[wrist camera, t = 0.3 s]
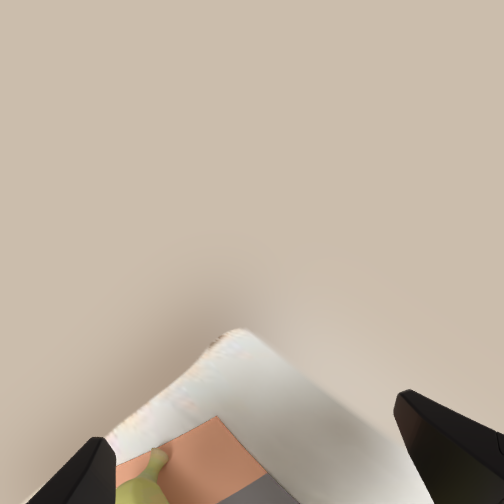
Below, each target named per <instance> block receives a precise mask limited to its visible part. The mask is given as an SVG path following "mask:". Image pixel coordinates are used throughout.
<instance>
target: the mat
mask: <svg viewBox="0 0 504 504" xmlns="http://www.w3.org/2000/svg"><path fill="white" fill-rule="evenodd" d="M216 504H300V503H298V502H297V501H296V500H295V499H294V498H293V497H292V496H291V495H290V494H289V493H288V492H287V491H286V490H285V489H284V488H283V487H282V486H281V485H279V484H278V483H277V482H276V481H275V480H274V479H273V478H272V477H271V476H270V475H269V474H268V473H266V474H265V475H263V476H262V477H260V478H259V479H257V480H255V481H254V482H252V483H251V484H249V485H247V486H246V487H244V488H243V489H241V490H239V491H238V492H236V493H234V494H232V495H231V496H229V497H227V498H225V499H224V500H222V501H220V502H218V503H216Z"/></svg>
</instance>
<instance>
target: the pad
mask: <svg viewBox="0 0 504 504" xmlns="http://www.w3.org/2000/svg"><path fill="white" fill-rule="evenodd" d="M158 449H161V450H162V451H164V452H165V453H166V454H167V455H168V457H169V461H168V462H167V463H166V464H165V465H164V466H163V467H162V469H161V470H160V472H159V474H158V479H157V484H158V485H159V487H160V489H161V490H162V492H163V494H164V495H165V497H166V499H167V500H168V502H169V504H216V503H218V502H220V501H222V500H224V499H225V498H227V497H229V496H231V495H232V494H234V493H236V492H238V491H239V490H241V489H243V488H244V487H246V486H247V485H249V484H251V483H252V482H254V481H255V480H257V479H259V478H260V477H262V476H263V475H265V474H266V473H267V472H266V471H265V469H264V468H263V467H262V466H261V465H260V464H259V463H258V462H257V461H256V460H255V459H254V458H253V457H252V456H251V455H250V454H249V453H248V451H247V450H246V449H245V448H244V447H243V446H242V445H241V444H240V443H239V442H238V440H237V439H236V438H235V437H234V436H233V435H232V434H231V432H230V431H229V430H228V429H227V428H226V427H225V425H224V424H223V423H222V422H221V421H220V420H219V418H218V417H217V416H216V417H214V418H212V419H211V420H209V421H207V422H205V423H203V424H202V425H200V426H198V427H196V428H194V429H192V430H191V431H189V432H187V433H185V434H183V435H181V436H179V437H177V438H175V439H174V440H172V441H170V442H168V443H166V444H164V445H162V446H160V447H158ZM150 455H151V451H149V452H147V453H145V454H143V455H141V456H139V457H136V458H134V459H132V460H130V461H128V462H125V463H123V464H121V465H118V466H116V488H117V487H118V486H120V485H121V484H122V483H124V482H126V481H128V480H131V479H133V478H135V477H137V476H138V475H139V474H141V473H142V472H143V471H144V470H145V469H146V467H147V465H148V463H149V460H150Z"/></svg>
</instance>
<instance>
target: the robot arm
mask: <svg viewBox="0 0 504 504" xmlns="http://www.w3.org/2000/svg"><path fill="white" fill-rule="evenodd" d="M394 417H395V420H396V422H397V425H398V427H399V430H400V433H401V435H402V438H403V440H404V443H405V446H406V448H407V451H408V453H409V455H410V457H411V459H412V461H413V463H414V465H415V467H416V469H417V471H418V473H419V474H420V476H421V478H422V480H423V482H424V484H425V486H426V488H427V490H428V492H429V494H430V496H431V498H432V500H433V502H434V504H504V434H502V433H499V432H496V431H495V430H492V429H490V428H488V427H486V426H484V425H482V424H480V423H478V422H476V421H473V420H471V419H469V418H467V417H465V416H463V415H461V414H459V413H457V412H455V411H453V410H451V409H449V408H447V407H445V406H443V405H441V404H438V403H437V402H435V401H433V400H431V399H429V398H427V397H425V396H423V395H421V394H419V393H417V392H415V391H413V390H410V389H408V390H405V391H402V392H400V393H399V394H398V395H397V398H396V402H395V406H394ZM115 501H116V455H115V452H114V451H113V449H112V448H111V446H110V445H109V444H108V442H107V441H106V439H105V438H103V437H92V438H90V439H89V440H88V441H87V443H85V444H84V445H83V447H82V448H80V449H79V450H78V452H77V453H76V454H75V455H74V456H73V457H72V458H71V459H70V460H69V461H68V462H67V463H66V464H65V465H64V466H63V467H62V468H61V469H60V470H59V471H58V472H57V473H56V474H55V475H54V476H53V477H52V478H51V479H50V480H49V481H48V482H47V483H46V484H45V485H44V486H43V487H42V488H41V489H40V490H39V491H38V492H37V493H36V494H35V495H34V496H33V497H32V498H31V499H30V500H29V501H28V502H27V503H26V504H115Z"/></svg>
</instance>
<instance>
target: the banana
mask: <svg viewBox="0 0 504 504" xmlns="http://www.w3.org/2000/svg"><path fill="white" fill-rule="evenodd" d="M168 461H169V457H168V455H167V454H166V453H165V452H164V451H162V450H161V449H158V448H152V449H151V455H150V460H149V463H148V465H147V467H146V469H145V470H144V471H143V472H142V473H141V474H139V475H138V476H137V477H135V478H133V479H131V480H128V481H126V482H124V483H122V484H121V485H120V486H118V487H117V488H116V501H115V504H169V502H168V500H167V499H166V497H165V495H164V494H163V492H162V490H161V489H160V487H159V485H158V484H157V479H158V474H159V472H160V470H161V469H162V467H163V466H164V465H165V464H166V463H167V462H168Z"/></svg>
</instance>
